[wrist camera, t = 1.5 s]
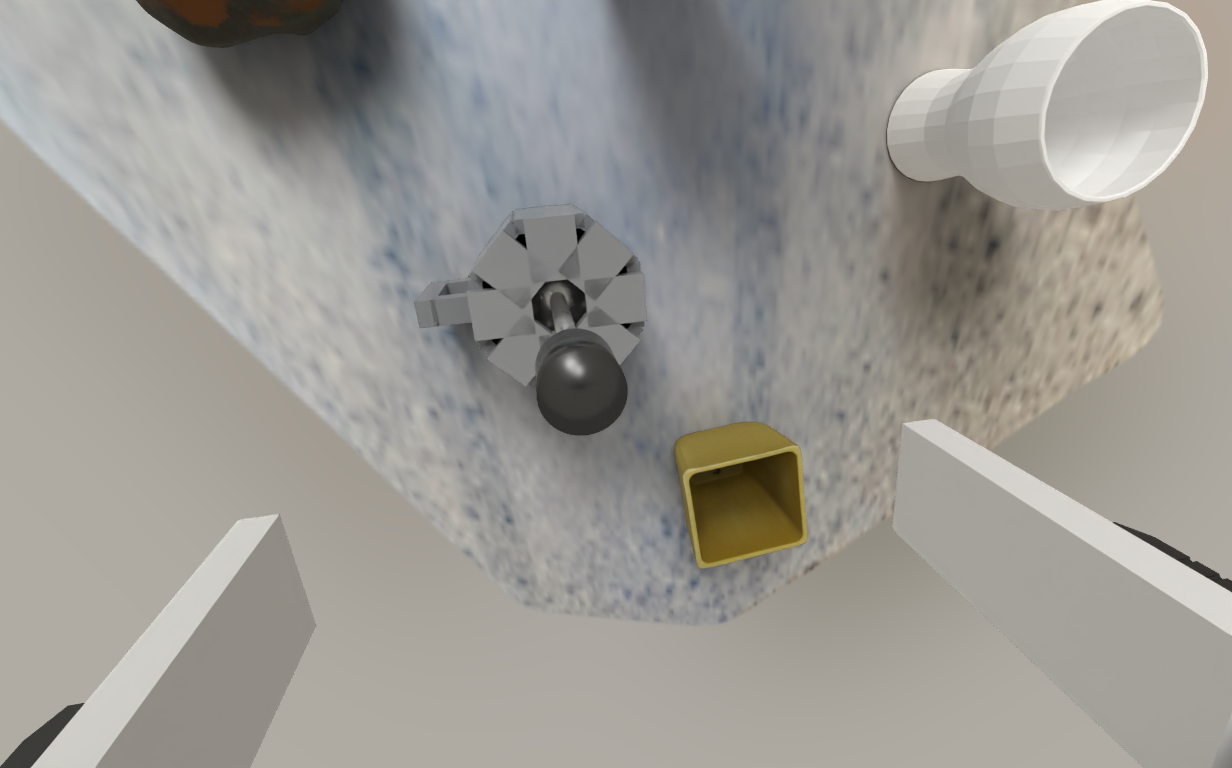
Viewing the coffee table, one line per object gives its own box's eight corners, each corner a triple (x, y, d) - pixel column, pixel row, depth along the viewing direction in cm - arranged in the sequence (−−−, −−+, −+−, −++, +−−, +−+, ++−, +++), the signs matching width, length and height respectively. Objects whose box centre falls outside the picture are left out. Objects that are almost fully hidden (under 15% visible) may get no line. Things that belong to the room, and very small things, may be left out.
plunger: (496, 251, 34) (475, 315, 19) (603, 240, 35) (666, 294, 20) (512, 353, 37) (504, 486, 21) (612, 341, 37) (675, 461, 22)
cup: (845, 105, 42) (1003, 72, 28) (971, 15, 42) (1197, -64, 28) (900, 228, 46) (1062, 252, 32) (1016, 148, 45) (1234, 137, 31)
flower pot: (670, 508, 52) (698, 572, 44) (655, 421, 49) (682, 473, 41) (763, 485, 53) (809, 544, 44) (754, 398, 50) (801, 444, 41)
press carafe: (423, 217, 41) (390, 232, 31) (612, 199, 42) (639, 207, 32) (449, 353, 44) (427, 407, 34) (622, 332, 46) (650, 377, 36)
